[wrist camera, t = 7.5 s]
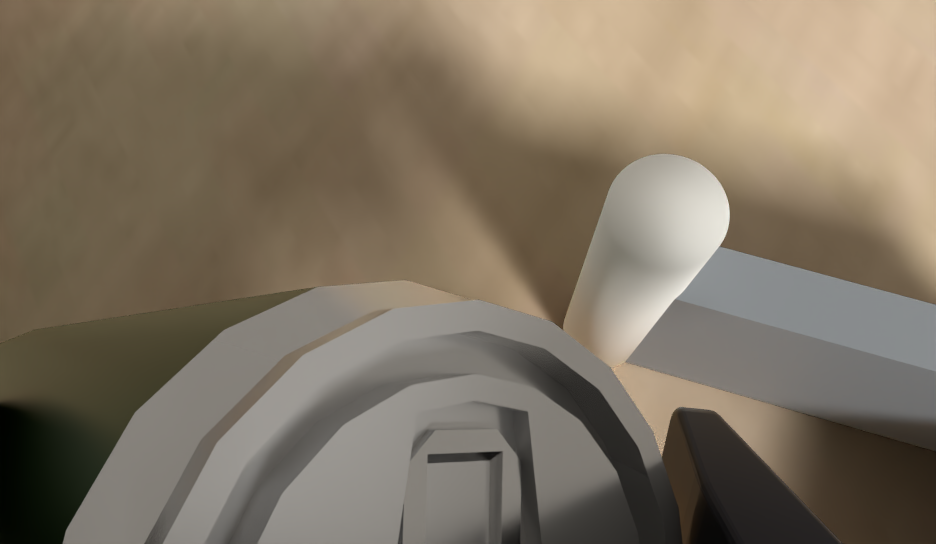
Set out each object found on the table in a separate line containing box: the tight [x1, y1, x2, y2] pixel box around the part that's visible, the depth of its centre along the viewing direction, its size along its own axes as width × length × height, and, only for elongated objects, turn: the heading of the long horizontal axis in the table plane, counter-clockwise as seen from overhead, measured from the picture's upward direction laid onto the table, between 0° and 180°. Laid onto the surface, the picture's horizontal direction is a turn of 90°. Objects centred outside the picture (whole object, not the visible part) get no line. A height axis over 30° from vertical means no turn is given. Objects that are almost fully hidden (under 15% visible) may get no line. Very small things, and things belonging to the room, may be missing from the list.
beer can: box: [0, 280, 683, 544], centre depth 11 cm, size 5×5×12 cm
